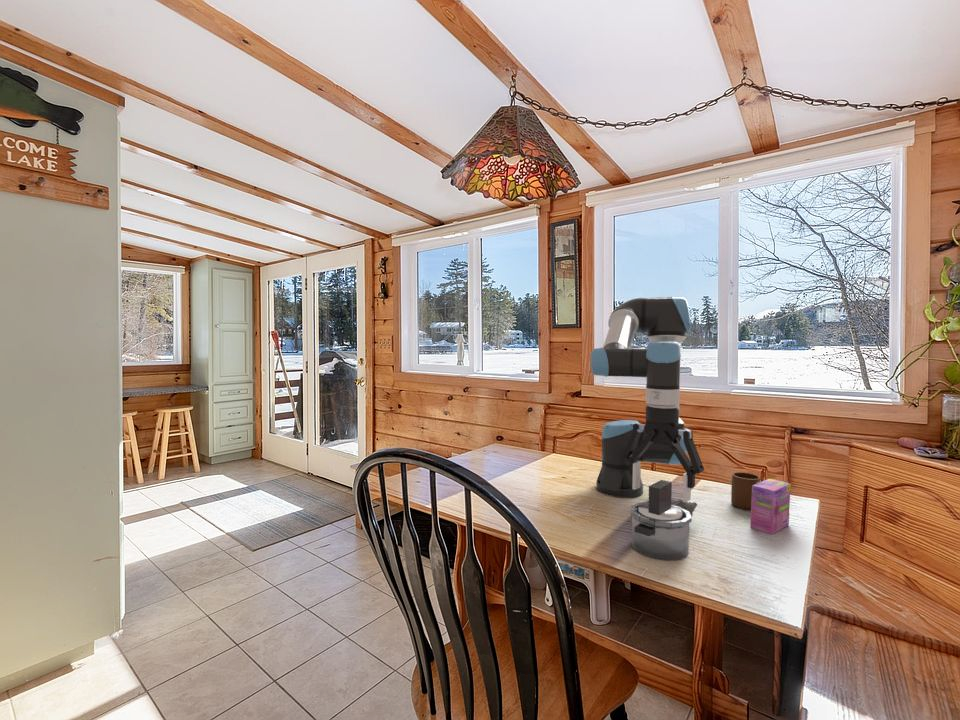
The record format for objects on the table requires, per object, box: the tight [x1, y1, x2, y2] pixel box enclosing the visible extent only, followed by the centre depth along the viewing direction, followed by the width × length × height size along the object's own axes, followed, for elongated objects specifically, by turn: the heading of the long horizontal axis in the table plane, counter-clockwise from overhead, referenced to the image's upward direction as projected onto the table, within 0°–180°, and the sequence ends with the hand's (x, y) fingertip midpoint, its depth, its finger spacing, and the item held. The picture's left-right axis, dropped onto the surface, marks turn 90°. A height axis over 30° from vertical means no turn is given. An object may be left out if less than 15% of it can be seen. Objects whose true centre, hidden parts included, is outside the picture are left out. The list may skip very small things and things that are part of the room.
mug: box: [730, 471, 761, 511], centre depth 142 cm, size 12×8×9 cm, turn 10°
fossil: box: [671, 498, 698, 518], centre depth 129 cm, size 11×9×8 cm
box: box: [749, 478, 792, 535], centre depth 128 cm, size 10×6×12 cm, turn 126°
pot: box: [630, 501, 693, 562], centre depth 115 cm, size 14×18×9 cm
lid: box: [638, 479, 682, 521], centre depth 115 cm, size 10×10×8 cm
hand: (660, 494), depth 115 cm, fingers open, 12 cm apart
